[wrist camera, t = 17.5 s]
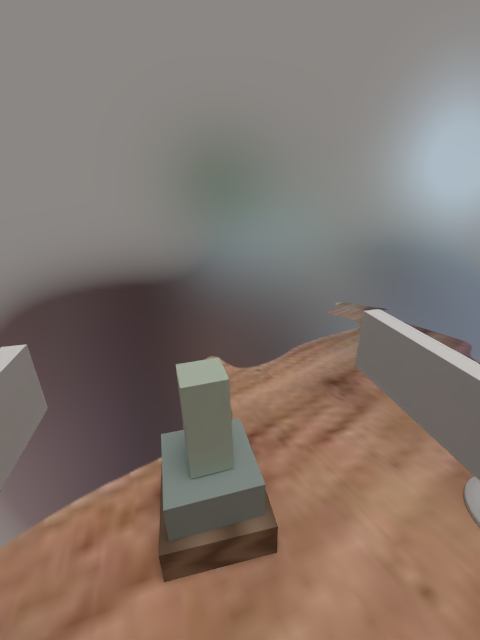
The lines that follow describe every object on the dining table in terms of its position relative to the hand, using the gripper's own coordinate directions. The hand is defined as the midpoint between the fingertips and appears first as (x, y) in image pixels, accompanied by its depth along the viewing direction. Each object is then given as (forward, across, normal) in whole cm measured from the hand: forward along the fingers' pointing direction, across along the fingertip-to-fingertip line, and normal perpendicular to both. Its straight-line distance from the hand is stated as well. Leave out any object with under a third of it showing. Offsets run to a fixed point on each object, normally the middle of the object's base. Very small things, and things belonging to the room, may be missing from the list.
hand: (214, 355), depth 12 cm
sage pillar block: (+17, 0, -24) cm, 29 cm away
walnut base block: (+16, +1, -34) cm, 37 cm away
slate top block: (+17, 0, -29) cm, 33 cm away
